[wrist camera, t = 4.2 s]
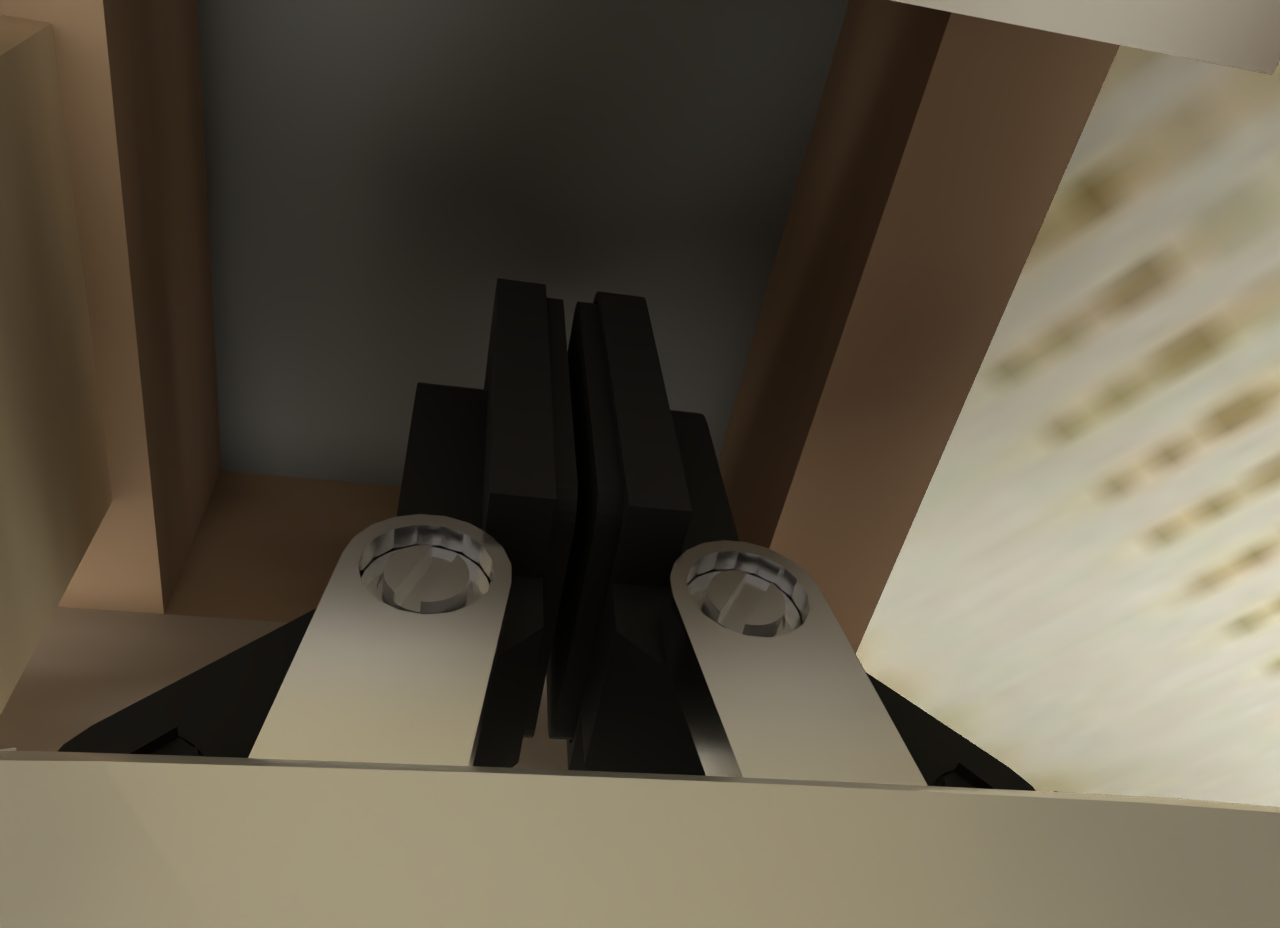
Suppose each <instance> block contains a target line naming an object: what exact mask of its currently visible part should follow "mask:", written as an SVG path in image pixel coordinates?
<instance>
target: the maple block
mask: <svg viewBox="0 0 1280 928" xmlns="http://www.w3.org/2000/svg"><path fill="white" fill-rule="evenodd" d="M111 503H112V493H111V485H110V478H109V470H108V462H107V454H106V446H105V438H104V431H103V423H102V415H101V407H100V399H99V391H98V383H97V376H96V368H95V360H94V352H93V344H92V336H91V329H90V321H89V313H88V305H87V297H86V289H85V282H84V274H83V266H82V258H81V250H80V242H79V235H78V227H77V219H76V211H75V203H74V195H73V188H72V180H71V172H70V164H69V156H68V148H67V141H66V133H65V125H64V117H63V109H62V101H61V94H60V86H59V78H58V70H57V62H56V54H55V47H54V39H53V31H52V23H49V22H42V21H36V20H30V19H24V18H18V17H12V16H6V15H0V715H1V713H2V711H3V709H4V707H5V705H6V703H7V701H8V700H9V698H10V696H11V694H12V692H13V690H14V688H15V686H16V684H17V682H18V680H19V679H20V677H21V675H22V673H23V671H24V669H25V667H26V665H27V663H28V661H29V659H30V658H31V656H32V654H33V652H34V650H35V648H36V646H37V644H38V642H39V640H40V638H41V637H42V635H43V633H44V631H45V629H46V627H47V625H48V623H49V621H50V619H51V618H52V616H53V614H54V612H55V610H56V608H57V606H58V604H59V602H60V600H61V598H62V597H63V595H64V593H65V591H66V589H67V587H68V585H69V583H70V581H71V579H72V577H73V576H74V574H75V572H76V570H77V568H78V566H79V564H80V562H81V560H82V558H83V556H84V555H85V553H86V551H87V549H88V547H89V545H90V543H91V541H92V539H93V537H94V535H95V534H96V532H97V530H98V528H99V526H100V524H101V522H102V520H103V518H104V516H105V514H106V513H107V511H108V509H109V507H110V505H111Z"/></svg>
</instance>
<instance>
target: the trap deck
mask: <svg viewBox="0 0 1280 928" xmlns="http://www.w3.org/2000/svg"><path fill="white" fill-rule="evenodd" d="M0 15H6V16H12V17H18V18H24V19H30V20H36V21H42V22H49V23H52V31H53V39H54V47H55V54H56V62H57V70H58V78H59V86H60V94H61V101H62V109H63V117H64V125H65V133H66V141H67V148H68V156H69V164H70V172H71V180H72V188H73V195H74V203H75V211H76V219H77V227H78V235H79V242H80V250H81V258H82V266H83V274H84V282H85V289H86V297H87V305H88V313H89V321H90V329H91V336H92V344H93V352H94V360H95V368H96V376H97V383H98V391H99V399H100V407H101V415H102V423H103V431H104V438H105V446H106V454H107V462H108V470H109V478H110V485H111V493H112V503H111V505H110V507H109V509H108V511H107V513H106V514H105V516H104V518H103V520H102V522H101V524H100V526H99V528H98V530H97V532H96V534H95V535H94V537H93V539H92V541H91V543H90V545H89V547H88V549H87V551H86V553H85V555H84V556H83V558H82V560H81V562H80V564H79V566H78V568H77V570H76V572H75V574H74V576H73V577H72V579H71V581H70V583H69V585H68V587H67V589H66V591H65V593H64V595H63V597H62V598H61V600H60V602H59V604H58V606H57V608H56V610H55V612H54V614H53V616H52V618H51V619H50V621H49V623H48V625H47V627H46V629H45V631H44V633H43V635H42V637H41V638H40V640H39V642H38V644H37V646H36V648H35V650H34V652H33V654H32V656H31V658H30V659H29V661H28V663H27V665H26V667H25V669H24V671H23V673H22V675H21V677H20V679H19V680H18V682H17V684H16V686H15V688H14V690H13V692H12V694H11V696H10V698H9V700H8V701H7V703H6V705H5V707H4V709H3V711H2V713H1V715H0V749H7V748H15V747H16V748H17V751H53V752H57V751H58V750H59V749H60V748H61V747H62V746H63V744H65V743H66V742H68V741H69V740H71V739H72V738H74V737H75V736H77V735H78V734H80V733H81V732H83V731H84V730H86V729H87V728H89V727H90V726H92V725H94V724H95V723H97V722H99V721H101V720H103V719H105V718H107V717H109V716H111V715H113V714H115V713H116V712H118V711H120V710H122V709H124V708H126V707H128V706H130V705H132V704H134V703H136V702H138V701H139V700H141V699H143V698H145V697H147V696H149V695H151V694H153V693H155V692H157V691H159V690H161V689H162V688H164V687H166V686H168V685H170V684H172V683H174V682H176V681H178V680H180V679H182V678H183V677H185V676H187V675H189V674H191V673H193V672H195V671H197V670H199V669H201V668H203V667H205V666H206V665H208V664H210V663H212V662H214V661H216V660H218V659H220V658H222V657H224V656H226V655H228V654H229V653H231V652H233V651H235V650H237V649H239V648H241V647H243V646H245V645H247V644H249V643H250V642H252V641H254V640H256V639H258V638H260V637H262V636H264V635H266V634H268V633H270V632H272V631H273V630H275V629H277V628H279V627H281V626H283V625H285V624H287V623H289V622H291V621H293V620H295V619H296V618H298V617H300V616H302V615H304V614H306V613H308V612H310V611H312V610H314V609H316V608H317V607H318V605H319V602H320V600H321V598H322V596H323V594H324V591H325V589H326V587H327V585H328V583H329V581H330V578H331V576H332V574H333V572H334V570H335V568H336V565H337V563H338V561H339V559H340V557H341V554H342V552H343V551H344V550H345V548H346V547H347V546H348V544H349V543H350V541H351V540H352V539H353V537H354V536H356V535H357V534H359V533H360V532H362V531H363V530H365V529H366V528H368V527H369V526H371V525H372V524H375V523H378V522H381V521H384V520H387V519H390V518H393V517H397V510H398V504H399V497H400V491H401V484H402V478H403V471H404V465H405V458H406V452H407V445H408V439H409V432H410V426H411V419H412V413H413V406H414V400H415V393H416V387H417V383H418V382H420V383H429V384H438V385H447V386H456V387H466V388H475V389H484V382H485V374H486V366H487V357H488V349H489V340H490V332H491V324H492V315H493V307H494V298H495V290H496V283H497V278H500V279H508V280H516V281H523V282H531V283H539V284H546V296H547V297H548V298H555V299H563V302H564V314H565V327H566V340H567V352H568V346H569V340H570V334H571V328H572V322H573V316H574V311H575V307H576V304H577V301H579V302H587V303H593V301H594V298H595V295H596V292H597V291H600V292H608V293H616V294H623V295H631V296H639V297H645V299H646V303H647V307H648V312H649V316H650V321H651V325H652V330H653V334H654V339H655V343H656V348H657V352H658V357H659V361H660V366H661V370H662V375H663V379H664V384H665V388H666V393H667V398H668V402H669V407H670V410H675V411H684V412H694V413H701V414H703V415H704V416H705V419H706V421H707V424H708V427H709V431H710V435H711V438H712V442H713V446H714V450H715V453H716V457H717V461H718V464H719V468H720V472H721V475H722V479H723V483H724V487H725V490H726V494H727V498H728V501H729V505H730V509H731V512H732V516H733V520H734V524H735V527H736V531H737V535H738V538H739V542H748V543H751V544H755V545H758V546H761V547H765V548H768V549H771V550H773V551H775V552H777V553H779V554H781V555H783V556H785V557H786V558H788V559H790V560H792V561H793V562H794V563H795V564H797V565H798V566H799V567H800V568H802V569H803V570H804V571H805V572H807V573H808V574H809V576H810V577H811V578H812V579H813V581H814V582H815V583H816V585H817V586H818V587H819V589H820V590H821V592H822V594H823V596H824V597H825V599H826V601H827V603H828V605H829V606H830V608H831V610H832V612H833V614H834V616H835V617H836V619H837V621H838V623H839V625H840V627H841V628H842V630H843V632H844V634H845V636H846V637H847V639H848V641H849V643H850V645H851V647H852V648H853V650H854V652H855V654H856V652H857V649H858V647H859V645H860V642H861V640H862V638H863V635H864V633H865V631H866V628H867V626H868V624H869V622H870V619H871V617H872V615H873V612H874V610H875V608H876V605H877V603H878V601H879V599H880V596H881V594H882V592H883V589H884V587H885V585H886V582H887V580H888V578H889V575H890V573H891V571H892V569H893V566H894V564H895V562H896V559H897V557H898V555H899V552H900V550H901V548H902V546H903V543H904V541H905V539H906V536H907V534H908V532H909V529H910V527H911V525H912V522H913V520H914V518H915V516H916V513H917V511H918V509H919V506H920V504H921V502H922V499H923V497H924V495H925V493H926V490H927V488H928V486H929V483H930V481H931V479H932V476H933V474H934V472H935V470H936V467H937V465H938V463H939V460H940V458H941V456H942V453H943V451H944V449H945V446H946V444H947V442H948V440H949V437H950V435H951V433H952V430H953V428H954V426H955V423H956V421H957V419H958V417H959V414H960V412H961V410H962V407H963V405H964V403H965V400H966V398H967V396H968V393H969V391H970V389H971V387H972V384H973V382H974V380H975V377H976V375H977V373H978V370H979V368H980V366H981V364H982V361H983V359H984V357H985V354H986V352H987V350H988V347H989V345H990V343H991V340H992V338H993V336H994V334H995V331H996V329H997V327H998V324H999V322H1000V320H1001V317H1002V315H1003V313H1004V311H1005V308H1006V306H1007V304H1008V301H1009V299H1010V297H1011V294H1012V292H1013V290H1014V288H1015V285H1016V283H1017V281H1018V278H1019V276H1020V274H1021V271H1022V269H1023V267H1024V264H1025V262H1026V260H1027V258H1028V255H1029V253H1030V251H1031V248H1032V246H1033V244H1034V241H1035V239H1036V237H1037V235H1038V232H1039V230H1040V228H1041V225H1042V223H1043V221H1044V218H1045V216H1046V214H1047V211H1048V209H1049V207H1050V205H1051V202H1052V200H1053V198H1054V195H1055V193H1056V191H1057V188H1058V186H1059V184H1060V182H1061V179H1062V177H1063V175H1064V172H1065V170H1066V168H1067V165H1068V163H1069V161H1070V158H1071V156H1072V154H1073V152H1074V149H1075V147H1076V145H1077V142H1078V140H1079V138H1080V135H1081V133H1082V131H1083V129H1084V126H1085V124H1086V122H1087V119H1088V117H1089V115H1090V112H1091V110H1092V108H1093V106H1094V103H1095V101H1096V99H1097V96H1098V94H1099V92H1100V89H1101V87H1102V85H1103V82H1104V80H1105V78H1106V76H1107V73H1108V71H1109V69H1110V66H1111V64H1112V62H1113V59H1114V57H1115V55H1116V53H1117V50H1118V48H1119V46H1120V45H1122V46H1127V47H1132V48H1137V49H1142V50H1147V51H1152V52H1158V53H1163V54H1168V55H1173V56H1178V57H1183V58H1188V59H1193V60H1198V61H1204V62H1209V63H1214V64H1219V65H1224V66H1229V67H1234V68H1239V69H1245V70H1250V71H1255V72H1260V73H1265V74H1270V75H1272V74H1273V72H1274V70H1275V68H1276V66H1277V64H1278V62H1279V60H1280V0H0ZM512 768H529V769H554V770H568V759H567V740H565V739H550V738H549V735H548V718H547V683H546V678H545V683H544V688H543V693H542V698H541V703H540V708H539V714H538V719H537V724H536V729H535V733H534V737H533V738H523V741H522V746H521V752H520V757H519V762H518V764H516V765H515V766H514V767H512Z"/></svg>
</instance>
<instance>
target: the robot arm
mask: <svg viewBox="0 0 1280 928" xmlns="http://www.w3.org/2000/svg"><path fill="white" fill-rule="evenodd" d="M545 678H546V683H547V718H548V735H549V738H550V739H565V740H567V759H568V770H554V769H529V768H512V767H514V766H515V765H516V764H518V762H519V757H520V752H521V746H522V741H523V738H533V737H534V733H535V729H536V724H537V719H538V714H539V708H540V703H541V698H542V693H543V688H544V683H545ZM0 928H1280V807H1272V806H1260V805H1248V804H1236V803H1225V802H1213V801H1202V800H1191V799H1179V798H1160V797H1136V796H1118V795H1101V794H1083V793H1066V792H1057V791H1054V792H1045V791H1035V789H1034V788H1033V787H1032V786H1031V785H1030V784H1029V783H1027V782H1026V781H1025V780H1024V779H1023V778H1021V777H1020V776H1019V775H1018V774H1016V773H1015V772H1014V771H1013V770H1011V769H1010V768H1009V767H1007V766H1006V765H1004V764H1003V763H1001V762H1000V761H998V760H997V759H995V758H994V757H992V756H991V755H989V754H988V753H986V752H985V751H983V750H982V749H980V748H979V747H977V746H976V745H974V744H973V743H971V742H970V741H968V740H967V739H965V738H964V737H962V736H961V735H959V734H958V733H956V732H955V731H953V730H952V729H950V728H949V727H947V726H946V725H944V724H943V723H941V722H940V721H938V720H937V719H935V718H934V717H932V716H931V715H929V714H928V713H926V712H925V711H923V710H922V709H920V708H919V707H917V706H916V705H914V704H913V703H911V702H910V701H908V700H907V699H905V698H904V697H902V696H901V695H899V694H898V693H896V692H895V691H893V690H892V689H890V688H889V687H887V686H886V685H884V684H883V683H881V682H880V681H878V680H877V679H875V678H874V677H872V676H871V675H869V674H868V673H866V672H865V670H864V668H863V667H862V665H861V663H860V661H859V659H858V658H857V656H856V654H855V652H854V650H853V648H852V647H851V645H850V643H849V641H848V639H847V637H846V636H845V634H844V632H843V630H842V628H841V627H840V625H839V623H838V621H837V619H836V617H835V616H834V614H833V612H832V610H831V608H830V606H829V605H828V603H827V601H826V599H825V597H824V596H823V594H822V592H821V590H820V589H819V587H818V586H817V585H816V583H815V582H814V581H813V579H812V578H811V577H810V576H809V574H808V573H807V572H805V571H804V570H803V569H802V568H800V567H799V566H798V565H797V564H795V563H794V562H793V561H792V560H790V559H788V558H786V557H785V556H783V555H781V554H779V553H777V552H775V551H773V550H771V549H768V548H765V547H761V546H758V545H755V544H751V543H748V542H739V538H738V535H737V531H736V527H735V524H734V520H733V516H732V512H731V509H730V505H729V501H728V498H727V494H726V490H725V487H724V483H723V479H722V475H721V472H720V468H719V464H718V461H717V457H716V453H715V450H714V446H713V442H712V438H711V435H710V431H709V427H708V424H707V421H706V419H705V416H704V415H703V414H701V413H694V412H684V411H675V410H670V407H669V402H668V398H667V393H666V388H665V384H664V379H663V375H662V370H661V366H660V361H659V357H658V352H657V348H656V343H655V339H654V334H653V330H652V325H651V321H650V316H649V312H648V307H647V303H646V299H645V297H639V296H631V295H623V294H616V293H608V292H600V291H597V292H596V295H595V298H594V301H593V303H587V302H579V301H577V304H576V307H575V311H574V316H573V322H572V328H571V334H570V340H569V346H568V352H567V340H566V327H565V314H564V302H563V299H555V298H548V297H547V296H546V284H539V283H531V282H523V281H516V280H508V279H500V278H497V283H496V290H495V298H494V307H493V315H492V324H491V332H490V340H489V349H488V357H487V366H486V374H485V382H484V389H475V388H466V387H456V386H447V385H438V384H429V383H420V382H418V383H417V387H416V393H415V400H414V406H413V413H412V419H411V426H410V432H409V439H408V445H407V452H406V458H405V465H404V471H403V478H402V484H401V491H400V497H399V504H398V510H397V517H393V518H390V519H387V520H384V521H381V522H378V523H375V524H372V525H371V526H369V527H368V528H366V529H365V530H363V531H362V532H360V533H359V534H357V535H356V536H354V537H353V539H352V540H351V541H350V543H349V544H348V546H347V547H346V548H345V550H344V551H343V552H342V554H341V557H340V559H339V561H338V563H337V565H336V568H335V570H334V572H333V574H332V576H331V578H330V581H329V583H328V585H327V587H326V589H325V591H324V594H323V596H322V598H321V600H320V602H319V605H318V607H317V608H316V609H314V610H312V611H310V612H308V613H306V614H304V615H302V616H300V617H298V618H296V619H295V620H293V621H291V622H289V623H287V624H285V625H283V626H281V627H279V628H277V629H275V630H273V631H272V632H270V633H268V634H266V635H264V636H262V637H260V638H258V639H256V640H254V641H252V642H250V643H249V644H247V645H245V646H243V647H241V648H239V649H237V650H235V651H233V652H231V653H229V654H228V655H226V656H224V657H222V658H220V659H218V660H216V661H214V662H212V663H210V664H208V665H206V666H205V667H203V668H201V669H199V670H197V671H195V672H193V673H191V674H189V675H187V676H185V677H183V678H182V679H180V680H178V681H176V682H174V683H172V684H170V685H168V686H166V687H164V688H162V689H161V690H159V691H157V692H155V693H153V694H151V695H149V696H147V697H145V698H143V699H141V700H139V701H138V702H136V703H134V704H132V705H130V706H128V707H126V708H124V709H122V710H120V711H118V712H116V713H115V714H113V715H111V716H109V717H107V718H105V719H103V720H101V721H99V722H97V723H95V724H94V725H92V726H90V727H89V728H87V729H86V730H84V731H83V732H81V733H80V734H78V735H77V736H75V737H74V738H72V739H71V740H69V741H68V742H66V743H65V744H63V746H62V747H61V748H60V749H59V750H58V751H57V752H53V751H17V748H16V747H15V748H7V749H0Z"/></svg>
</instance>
